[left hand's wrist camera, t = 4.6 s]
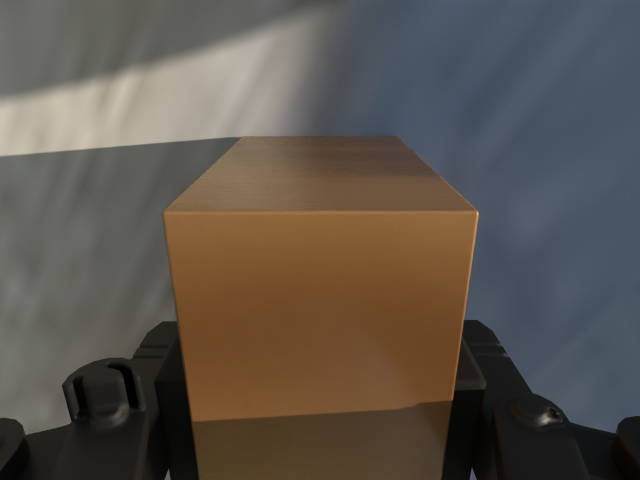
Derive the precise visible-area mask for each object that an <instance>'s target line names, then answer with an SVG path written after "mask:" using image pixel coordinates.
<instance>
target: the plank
mask: <svg viewBox="0 0 640 480" xmlns="http://www.w3.org/2000/svg"><path fill="white" fill-rule="evenodd" d="M478 216H479V213H478V211H477V210H476V209H475V208H474V207H473V206H472V205H471V204H470V203H469V202H468V201H466V200H465V199H464V198H463V197H462V196H461V195H460V194H459V193H458V192H457V191H456V190H455V189H453V188H452V187H451V186H450V185H449V184H448V183H447V182H446V181H445V180H444V179H443V178H442V177H440V176H439V175H438V174H437V173H436V172H435V171H434V170H433V169H432V168H431V167H430V166H429V165H427V164H426V163H425V162H424V161H423V160H422V159H421V158H420V157H419V156H418V155H417V154H416V153H414V152H413V151H412V150H411V149H410V148H409V147H408V146H407V145H406V144H405V143H404V142H403V141H402V140H400V139H399V138H398V137H242V138H241V139H239V140H238V141H237V142H236V143H235V144H234V145H233V146H232V147H231V148H230V149H229V150H228V151H227V152H226V153H225V154H223V155H222V156H221V157H220V158H219V159H218V160H217V161H216V162H215V163H214V164H213V165H212V166H211V167H210V168H209V169H207V170H206V171H205V172H204V173H203V174H202V175H201V176H200V177H199V178H198V179H197V180H196V181H195V182H194V183H192V184H191V185H190V186H189V187H188V188H187V189H186V190H185V191H184V192H183V193H182V194H181V195H180V196H179V197H178V198H176V199H175V200H174V201H173V202H172V203H171V204H170V205H169V206H168V207H167V208H166V209H165V210H164V211H163V213H162V217H163V225H164V232H165V239H166V246H167V253H168V260H169V267H170V275H171V282H172V289H173V296H174V303H175V310H176V318H177V325H178V332H179V339H180V346H181V353H182V361H183V368H184V375H185V382H186V389H187V396H188V404H189V411H190V418H191V425H192V432H193V439H194V447H195V454H196V461H197V468H198V475H199V480H442V473H443V466H444V458H445V451H446V444H447V437H448V430H449V423H450V416H451V408H452V401H453V394H454V387H455V380H456V373H457V366H458V358H459V351H460V344H461V337H462V330H463V323H464V316H465V308H466V301H467V294H468V287H469V280H470V273H471V266H472V258H473V251H474V244H475V237H476V230H477V223H478Z"/></svg>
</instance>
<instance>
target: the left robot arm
mask: <svg viewBox="0 0 640 480" xmlns="http://www.w3.org/2000/svg"><path fill="white" fill-rule="evenodd" d="M507 355H508V354H507V353H506V351H505V350H504V348H503V347H502V346H501V343H500V342H499V340H498V339H497V337H496V336H495V334H494V333H493V331H492V330H490V329H489V328H488V327H486V326H485V325H484V324H482V323H481V322H479V321H478V320H464V323H463V330H462V337H461V344H460V351H459V358H458V366H457V373H456V380H455V387H454V394H453V401H452V408H451V416H450V423H449V430H448V437H447V444H446V451H445V458H444V466H443V473H442V480H470V474H471V468H473V471H474V474H475V476H476V479H477V480H640V416H634V417H628V418H625V419H623V420H622V421H621V422H620V423H619V424H618V427H617V430H616V433H611V432H606V431H602V430H598V429H593V428H589V427H585V426H581V425H578V424H574V423H571V422H569V420H568V419H567V417H566V416H565V414H564V413H563V411H562V410H561V409H560V408H559V407H557V406H556V405H555V404H554V403H553V402H551V401H549V400H547V399H545V398H543V397H541V396H539V395H537V394H533V393H532V391H531V390H530V388H529V387H528V385H527V384H526V382H525V381H524V379H523V378H522V376H521V374H520V373H519V371H518V370H517V368H516V367H515V365H514V364H513V362H512V361H511V359H510V357H508V356H507ZM62 388H63V391H64V395H65V399H66V403H67V406H68V410H69V414H70V418H71V424H69V425H65V426H62V427H59V428H55V429H50V430H46V431H42V432H38V433H33V434H29V435H25V432H24V429H23V426H22V425H21V424H20V423H19V422H18V421H17V420H14V419H8V418H0V480H164V479H165V477H166V474H167V471H168V468H169V472H170V478H171V480H199V475H198V468H197V461H196V454H195V447H194V439H193V432H192V425H191V418H190V411H189V404H188V396H187V389H186V382H185V375H184V368H183V361H182V353H181V346H180V339H179V332H178V325H177V322H161V323H160V324H159V325H157V326H156V327H155V328H153V329H152V330H151V331H149V332H148V333H147V335H146V336H145V338H144V340H143V341H142V343H141V344H140V348H138V349H137V350H136V352H135V354H134V355H133V359H131V360H128V359H125V358H107V359H103V360H98V361H94V362H92V363H90V364H87V365H85V366H83V367H81V368H79V369H78V370H76V371H75V372H74V373H72V374H71V375H70V376H69V377H68V378H67V379H66V381H65V382H64V383H63V385H62Z"/></svg>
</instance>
